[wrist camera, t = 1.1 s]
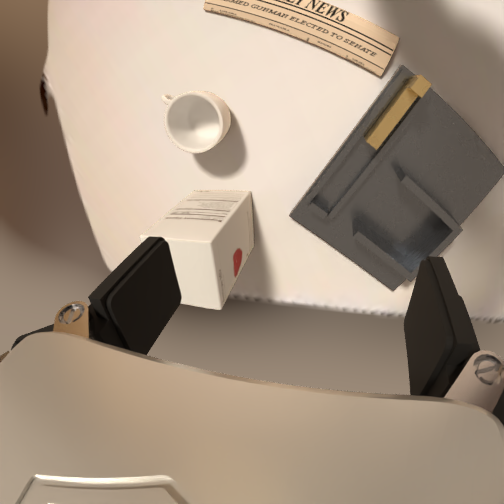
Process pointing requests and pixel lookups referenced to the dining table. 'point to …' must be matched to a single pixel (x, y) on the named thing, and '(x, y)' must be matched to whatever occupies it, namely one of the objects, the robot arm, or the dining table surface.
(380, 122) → the wooden block
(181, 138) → the teacup
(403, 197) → the cradle
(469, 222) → the dining table surface
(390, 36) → the newspaper
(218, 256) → the supplement box
